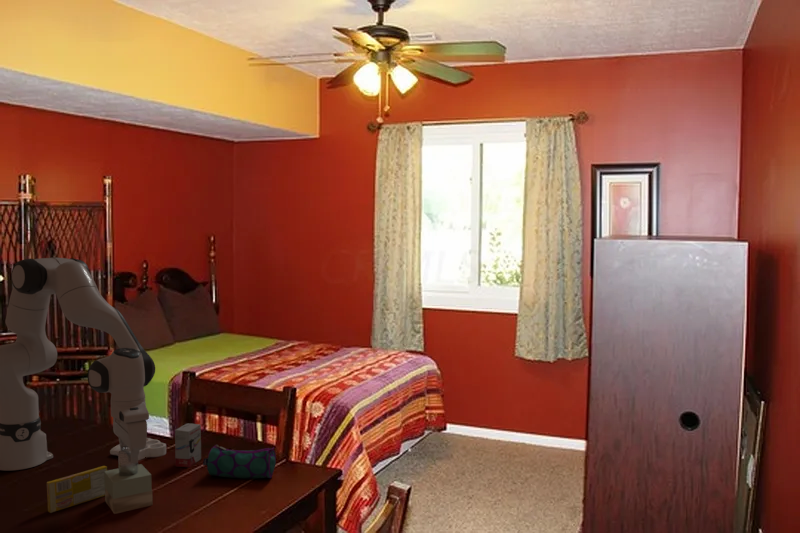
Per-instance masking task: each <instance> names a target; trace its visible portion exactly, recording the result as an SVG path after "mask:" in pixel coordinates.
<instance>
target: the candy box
mask: <svg viewBox="0 0 800 533" xmlns="http://www.w3.org/2000/svg"><path fill="white" fill-rule="evenodd" d="M104 471H108V466H106V465H102V466H98V467H95V468H92V469H88V470H85V471H81V472H77V473H75V474H74V473H73V474H70V475H66V476H64V477H60V478H56V479H53V480H49V481H47V482H46V496H47V498H46V499H47V512H48V513H50V514H52V513H55V512H57V511H62V510H64V509H68V508H71V507H74V506H77V505H80V504H83V503H86V502H89V501H92V500H97V499H99V498H102V497H105V487H104Z"/></svg>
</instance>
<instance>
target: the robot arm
mask: <svg viewBox="0 0 800 533" xmlns="http://www.w3.org/2000/svg"><path fill="white" fill-rule="evenodd" d="M10 276H11V277H10V280H11V284H12V286H13V287H12V290H11V293H10V296H9V302H8V306H7V311H6V316H5V326H6V328H8V330H9V331H10V332H11V333H13V334H16V339H15V341H14V342H12V343H6V344H1V345H0V471H19V470H20V471H21V470H26V469H30V468H33V467H37V466H39V465H41V464H43V463H45V462H47V461H48V460H51V459H53V458H54V454H53V453H52V452H51V451H48V442H47V433H45V432H44V431H42V430H41V427H42V426H41V424H42V421H41V417H40V416H39V414H40V413H39V412H40V411H39V410H40V409H39V395H38V393H37V392H36V391H35V390H33V389H32V388H30V387H27V386H25V383H24V379H23V378H24V377H25V376H29V375H31V376H32V375H35V374H39V373H42V372H44V371H47V370H48V369H50V368H52V367H53V366H55V364H56V362H57V359H58V350H57V347H56V346H55V344H54V343H53V342H52V341H51V340H49V339H48V337H47V333H46V323H47V318H48V313H49V307H50V302H51V296H52V295H54V294H55V295H56V297H57V298H56V299H57V301H58V304H59V306H60V309H61V312H62V313H63V315H64V317H65V318H66V319H67V320H68V321H69V322H70V323H73V324H74V325H77V326H80V327H85V328H89V329H90V328H92V329H95V330H98V331H102V332H104V333H107V334H109V335H110V336H111V337H112V338H113V340H114V341H115V343H116V345H117V347H118V348H117V349H114V350H113V351H112V352H111V354H109V355H107V356H106V357H102V358H99V359H96V360H94V361H93V362H92V363H91V364H90V365H89V367H88V370H87V382H88V386H89V387H90V388H91V389H92V390H93V391H94V392H96V393H102V394H103V393H104V394H105V393H106V394H107V393H110V417H112V431H113V433H114V435H115V436H117V437H118V443H119V444H120V450H124V449H128V447H129V448H130V451H131V456H130V462H131V463H132V464H133V463H137V462H138V463H139V460H138V455H139V451H140V450H142V449H145V446H146V441H147V438H148V436H147V435H148V423H147V420H148V421H149V418H150V413H149V411H148V408H147V404H146V392H145V390H144V388H145V387H146V386H148V385H149V384H150V383H151V381H152V379H153V378H154V376H155V373H156V365H155V362H154V360H153V358H152V357H151V356H150V354H149V353H148V351H146V350H145V349H144V347H143V346H142V345H141V343H140V341H139V340H138V338H137V337H136V335H135V333H134V332H133V330H132V328H131V326H130V325H129V323H128V322H127V320H126V319H125V317H124V316H123V314H122V313H121V312H120V311H119V309H118V308H116V307H114V306H112V305H111V304H110V303H108V302H107V300H106V299H105V298H104V296H102V294H101V292H100V291H99V289H98V286H97V284H96V281H95V280H94V278H93V276H92V275H91V273H90V269H89V267H88V264H87V263H86V262H85V261H84V260H82V259H79V258H66V257H42V258H40V257H39V258H24V259H21V260H18V261H17V262H16V263H14V265H13V267H12V269H11V274H10Z"/></svg>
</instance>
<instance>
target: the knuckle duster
mask: <svg viewBox="0 0 800 533" xmlns="http://www.w3.org/2000/svg"><path fill="white" fill-rule="evenodd" d="M128 449H130V448H129V447H128ZM119 451H121V450H120V443H119V444H117V445H116V446H113V447H112V448H111V449H110V450H109V454H110V455H112V456H117V457H118V452H119ZM166 454H167V443H164V442H161V441H160V440H158V439H153V438H151V437H147V441H146V446H145V449H142V450H140V451H139V455H138V461H141V460H143V459H145V457H146V458H159V457H163V456H165V455H166Z"/></svg>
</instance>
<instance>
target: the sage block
mask: <svg viewBox="0 0 800 533" xmlns="http://www.w3.org/2000/svg"><path fill="white" fill-rule="evenodd" d="M152 484H153V483H152V474H151V472H149V470H148V469H147V468H145V466H144V465H143V464H142V463H140V464H139V463H138V473H137V474H135V475H132V476H120V475H119V467H118V468H114V469H107V471H104V487H105V488H106V490H107V491H108V493H109V494H110V495H111V497H112V498H113V499H116V498H120V497H125V496H130V495H134V494H139V493H144V492H148V491H152V492H153V489H152Z"/></svg>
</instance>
